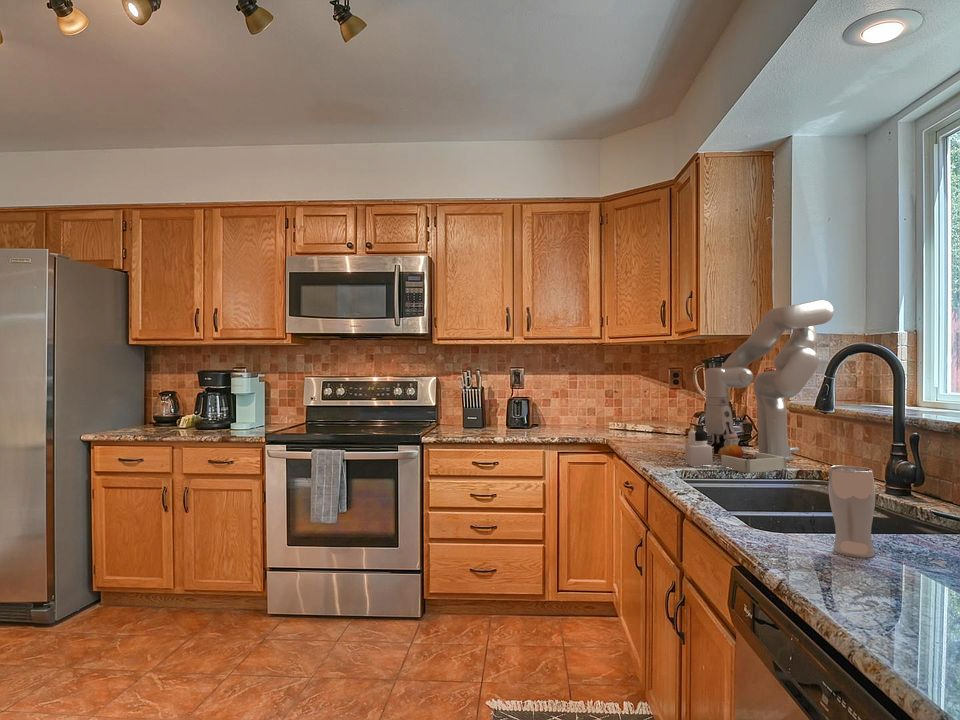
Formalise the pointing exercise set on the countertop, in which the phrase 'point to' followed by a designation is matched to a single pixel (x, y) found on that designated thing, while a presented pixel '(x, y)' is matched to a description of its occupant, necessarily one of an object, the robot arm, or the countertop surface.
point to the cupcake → (732, 439)
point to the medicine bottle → (698, 449)
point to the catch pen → (755, 463)
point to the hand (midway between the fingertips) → (719, 453)
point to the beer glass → (852, 509)
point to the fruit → (731, 451)
